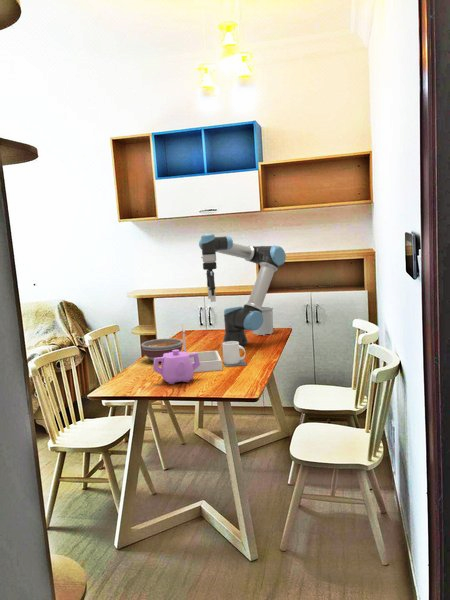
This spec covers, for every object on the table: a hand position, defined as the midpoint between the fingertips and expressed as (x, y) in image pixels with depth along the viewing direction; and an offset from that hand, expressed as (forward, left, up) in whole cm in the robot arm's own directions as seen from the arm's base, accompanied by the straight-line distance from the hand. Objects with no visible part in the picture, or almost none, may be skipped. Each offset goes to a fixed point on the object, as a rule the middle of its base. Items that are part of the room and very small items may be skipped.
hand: (212, 300), depth 316 cm
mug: (-8, +24, -31) cm, 40 cm away
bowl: (+29, +1, -32) cm, 43 cm away
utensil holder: (-37, -54, -32) cm, 73 cm away
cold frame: (+9, +23, -32) cm, 40 cm away
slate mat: (-8, +24, -32) cm, 40 cm away
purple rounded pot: (+22, +49, -32) cm, 62 cm away
